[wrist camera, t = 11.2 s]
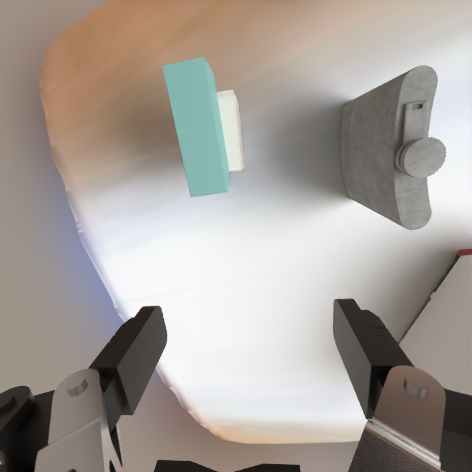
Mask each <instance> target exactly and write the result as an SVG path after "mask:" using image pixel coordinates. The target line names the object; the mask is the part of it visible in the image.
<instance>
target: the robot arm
mask: <svg viewBox="0 0 472 472" xmlns="http://www.w3.org/2000/svg"><path fill="white" fill-rule="evenodd" d="M333 334H334V339H335V343H336V345H337V348H338V350H339V353H340V355H341V358H342V360H343V363H344V365H345V368H346V370H347V373H348V375H349V378H350V380H351V383H352V385H353V387H354V390H355V392H356V395H357V397H358V400H359V402H360V405H361V407H362V410H363V412H364V415H365V417H366V419H372V420H371V421H370V420H368V421H367V423H366V425H365V428H364V430H363V433H362V436H361V438H360V441H359V444H358V447H357V449H356V452H355V455H354V457H353V460H352V463H351V465H350V468H349V471H348V472H440V470H443V471H446V472H472V395H468V394H464V393H460V392H456V391H452V390H448V389H446V388H443V387H442V385H441V384H440V383H439V382H438V381H437V380H436V379H435V378H434V377H433V376H431V375H430V374H428V373H426V372H425V371H423V370H420V369H418V368H415V367H414V365H413V364H412V363H411V361H410V360H409V358H408V357H407V356H406V354H405V353H404V352H403V350H402V349H401V347H400V346H399V345H398V343H397V342H396V340H395V339H394V338H393V337H392V336H391V334H390V332H389V331H388V329H386V327H385V325H384V324H383V322H382V321H381V320H380V318H379V317H377V316H376V315H375V314H373V313H372V312H370V311H369V310H361V309H360V308H359V306H358V305H357V303H356V302H355V300H354V299H335V300H334V311H333ZM166 343H167V330H166V326H165V322H164V318H163V313H162V309H161V307H160V306H144V307H142V308H141V309H140V311H139V312H138V313H137V315H136V316H135V317H134V318H131V319H129V320H128V321H127V322H125V323H124V324H123V325H122V326H121V327H120V328H119V329H118V331H117V332H116V333H115V335H114V336H113V337H112V338H111V340H110V342H109V343H108V344H107V345H106V346H105V347H104V349H103V350H102V351H101V353H100V354H99V355H98V356H97V358H96V359H95V360H94V362H93V363H92V364H91V365H90V367H89V368H88V369H83V370H80V371H78V372H75V373H73V374H72V375H70V376H69V377H67V378H66V379H65V380H63V381H62V382H61V383H60V384H59V386H58V387H57V388H56V390H53V391H50V392H46V393H42V394H39V395H35V396H33V394H32V392H31V390H30V389H29V387H27V386H18V387H14V388H11V389H9V390H7V391H5V392H3V393H1V394H0V461H1V463H2V464H1V465H0V472H126V469H125V463H124V457H123V451H122V446H121V439H120V433H119V428H118V424H117V422H118V420H119V418H120V416H121V415H133V414H134V411H135V409H136V407H137V405H138V403H139V401H140V399H141V397H142V395H143V393H144V391H145V388H146V386H147V384H148V382H149V380H150V378H151V376H152V374H153V371H154V369H155V367H156V365H157V363H158V361H159V359H160V357H161V355H162V353H163V350H164V348H165V346H166ZM154 472H217V471H215V470H212V469H210V468H207V467H204V466H202V465H199V464H197V463H194V462H192V461H172V460H171V461H170V460H158V461H157V463H156V467H155V470H154ZM235 472H300V465H286V464H260V465H256V466H253V467H249V468H246V469H243V470H240V471H235Z"/></svg>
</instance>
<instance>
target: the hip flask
mask: <svg viewBox="0 0 472 472" xmlns="http://www.w3.org/2000/svg"><path fill="white" fill-rule="evenodd" d="M437 82H438V78H437V74H436V72H435V71H434V69H432V68H431V67H429V66H424V65H423V66H418V67H415V68H413V69H412V70H410V71H408V72H406V73H404V74H402V75H400V76H398V77H396V78H394V79H392V80H390V81H388V82H386V83H384V84H383V85H381V86H379V87H377V88H375V89H373V90H371V91H369V92H367V93H365V94H363V95H361V96H359V97H357V98H356V99H354V100H352V101H350V102H348V103H347V104H345V106H344V107H343V109H342V114H341V122H340V161H341V170H342V176H343V181H344V185H345V189H346V193H347V195H348V197H349V198H351V199H352V200H354V201H356V202H358V203H360V204H362V205H364V206H365V207H367V208H369V209H371V210H373V211H375V212H377V213H378V214H380V215H382V216H384V217H386V218H388V219H390V220H391V221H393V222H395V223H397V224H399V225H401V226H403V227H404V228H406V229H409V230H416V229H419V228H421V227H423V226H424V225H426V224H427V223H428V221H429V220H430V217H431V207H430V202H429V196H428V187H427V176H430V175H432V174H434V173H435V172H436V171H438V169H439V168H441V166H442V165H443V163H444V161H445V157H446V148H445V146H444V144H443V143H442V142H441V141H440V140H439V139H436V138H432V137H431V138H429V137H428V131H429V123H430V116H431V110H432V105H433V100H434V96H435V91H436V87H437Z"/></svg>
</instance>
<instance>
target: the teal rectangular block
mask: <svg viewBox="0 0 472 472" xmlns="http://www.w3.org/2000/svg"><path fill="white" fill-rule="evenodd" d="M162 67H163V71H164V76H165V81H166V85H167V90H168V95H169V99H170V104H171V108H172V113H173V118H174V122H175V127H176V132H177V136H178V141H179V145H180V150H181V155H182V159H183V164H184V169H185V173H186V178H187V182H188V187H189V192H190V196H191V197H196V196H203V195H210V194H217V193H224V192H227V191H228V189H229V188H230V187H231V179H230V172H229V166H228V160H227V154H226V147H225V141H224V135H223V129H222V122H221V116H220V110H219V104H218V97H217V91H216V85H215V79H214V73H213V72H212V70H211V68H210V67H209V65H208V63H207V61H206V60H205V58H204V57H201V58H196V59H191V60H187V61H182V62H178V63H173V64H169V65H164V66H162Z"/></svg>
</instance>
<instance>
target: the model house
mask: <svg viewBox="0 0 472 472" xmlns="http://www.w3.org/2000/svg"><path fill="white" fill-rule="evenodd" d="M456 256H459V259H458V260H457V262H456V263H455V265H454V266H453V268H452V269H451V270H450V272H449V273H448V275H447V276H446V278H445V279H444V280H443V282H442V283H441V285H440V286H439V288H438V289H437V290H436V292H434V291H433V292H432V294H431V295H430V298H431V299H430V301H429V302H428V303H427V305H426V306H425V308H424V309H423V311H422V312H421V313H420V315H419V316H418V318H417V319H416V321H415V322H414V323H413V325H412V326H411V328H410V329H409V331H408V332H407V334H406V335H405V336H404V338H403V339H402V341H401V342H400V344H399V346H400V347H401V349H402V350H403V352H404V353H405V354H406V356H407V357H408V358H409V360H410V361H411V363H412V364H413V365H414V367H415V368H418V369H420V370H423V371H425V372H426V373H428V374H430V375H431V376H433V377H434V378H435V379H436V380H437V381H438V382H439V383H440V384H441V385H442V387H443V388H446V389H448V390H452V391H456V392H460V393H464V394H468V395H472V249H467V250H460V251H459V252H458V254H457V255H456Z"/></svg>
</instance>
